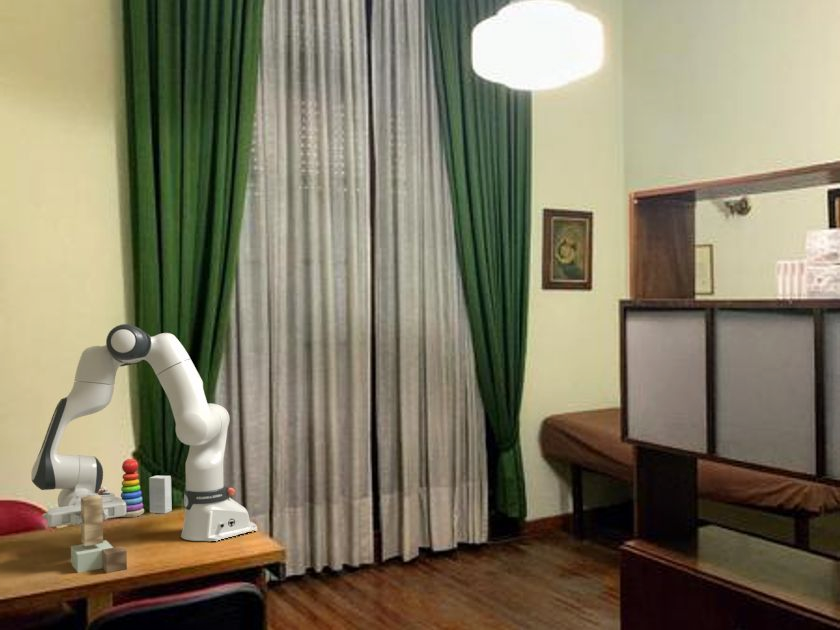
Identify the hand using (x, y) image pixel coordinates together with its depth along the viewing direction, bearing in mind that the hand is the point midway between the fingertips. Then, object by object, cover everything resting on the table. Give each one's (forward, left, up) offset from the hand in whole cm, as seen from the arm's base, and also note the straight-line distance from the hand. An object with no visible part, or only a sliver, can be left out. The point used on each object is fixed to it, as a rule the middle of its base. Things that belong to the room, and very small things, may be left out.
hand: (92, 518), depth 206 cm
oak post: (0, -1, -6) cm, 7 cm away
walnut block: (-4, +6, -13) cm, 15 cm away
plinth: (0, -1, -13) cm, 13 cm away
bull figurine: (-12, -58, -13) cm, 60 cm away
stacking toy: (-22, -48, -13) cm, 54 cm away
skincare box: (-31, -46, -13) cm, 57 cm away
